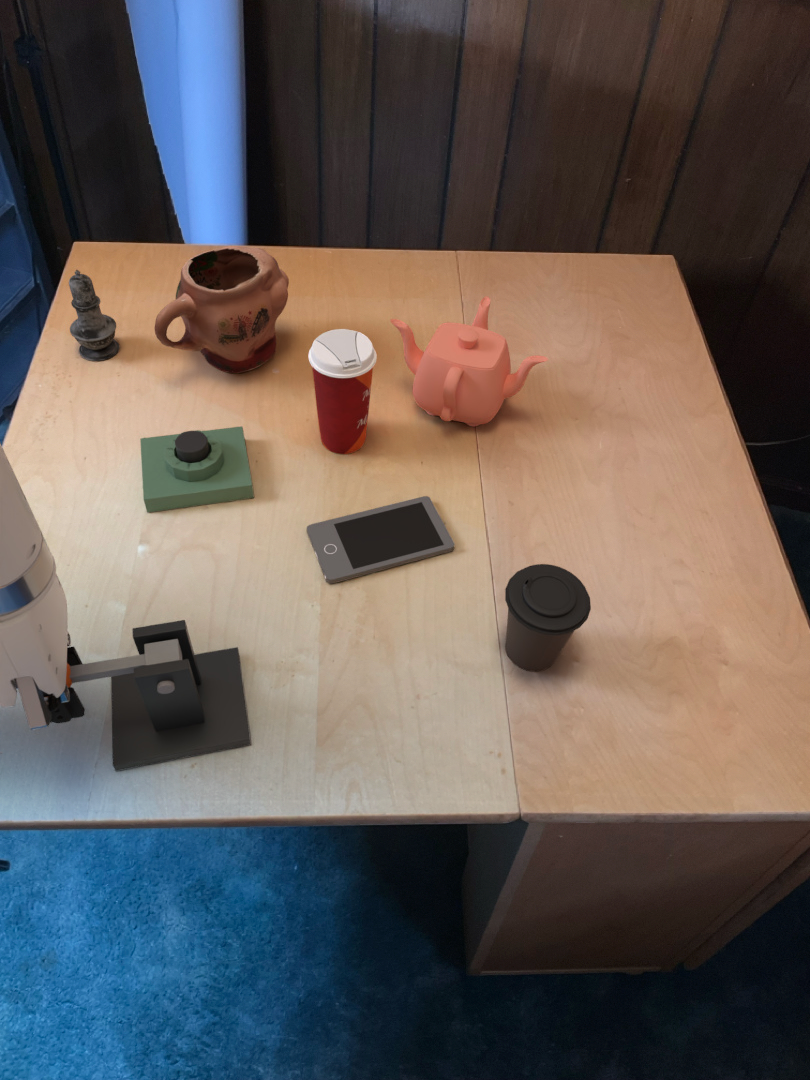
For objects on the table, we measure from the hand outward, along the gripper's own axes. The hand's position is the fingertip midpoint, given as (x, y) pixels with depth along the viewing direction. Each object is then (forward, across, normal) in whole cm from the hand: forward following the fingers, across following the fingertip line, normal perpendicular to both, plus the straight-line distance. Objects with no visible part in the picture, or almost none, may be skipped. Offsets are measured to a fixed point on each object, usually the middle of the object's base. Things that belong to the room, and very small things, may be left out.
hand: (66, 695), depth 70 cm
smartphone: (+6, -16, +32) cm, 36 cm away
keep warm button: (+2, -30, +13) cm, 33 cm away
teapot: (+7, -38, +48) cm, 62 cm away
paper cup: (+6, -34, +31) cm, 46 cm away
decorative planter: (+6, -52, +19) cm, 55 cm away
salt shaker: (+6, -56, +2) cm, 57 cm away
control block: (+6, -30, +13) cm, 34 cm away
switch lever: (-1, 0, +4) cm, 4 cm away
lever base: (+6, 0, +9) cm, 11 cm away
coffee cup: (+7, 0, +44) cm, 44 cm away
